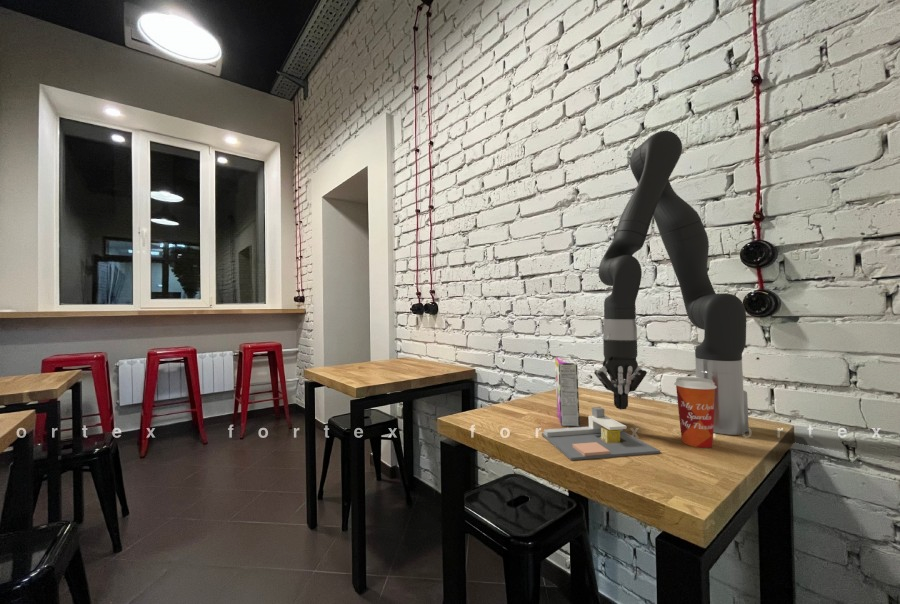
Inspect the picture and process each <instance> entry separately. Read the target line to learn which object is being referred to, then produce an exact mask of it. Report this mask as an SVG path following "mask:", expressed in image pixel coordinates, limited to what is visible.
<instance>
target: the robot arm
mask: <svg viewBox="0 0 900 604" xmlns="http://www.w3.org/2000/svg"><path fill="white" fill-rule="evenodd" d="M682 152H683V143H682V140H681V138H680V137H679V135H677V134H676V133H675V132H673V131H671V130H660V131H658V132H655V133H654V134H651V135H650V136H648V138H647V139H645V140H644V141H643V142H642V143H641V144H640V145H639V146H637V148H636V149H635V150H634V151H632V153H631V155H630V160H629V166H630V171H631V172H632V175H633V178H634V179H635V181H636V183H637V186H636V187H635V190H634V191H633V193H632V195H631V196H630V198H629V200H628V202H627V203H626V206H625V207H624V209H623V210H622V213H621V216H620V218H619V221H618V224H617V227H616V230H615V233H614V237H613V240H612V241H611V243H610V244H609V245H608V248H607V249H606V251H605V253H604V255H603V257H602V259H601V261H600V263H599V267H598V277H599V280H600V282H601V283H602V284H604V285H605V286H610V287H612V290H611V293H610V295H608V296H606V297H605V298H604V301H603V309H604V310H603V311H604V312H603V317H604V320H603V326H602V327H603V328H602V334H603V337H602V338H603V340H602V341H603V344H602V345H603V347H602V348H603V357H604V360H603V363H602V367H600V368H599V369H595V370H594V375H595V376H596V377H597V379H598V380H599V382H600V383H601V384H602V385H603V387H604V388H605V390H607V391H610V392H612V393H613V405H614V407H615V408H616V409H619V410H620V411H621V410H622V411H623V410H627V408H628V406H629V393H631V392H635V391H636V390H637V389H638V387H639V386H640V384H641V382H642V381H643V380H644V378H646V376H647V374H648V372H647V371H646V370H644V369H642V368H641V367H640V366H639V363H638V361H637V357H638V327H637V320H636V317H637V316H636V301H637V297H638V295H639V294H638V293H639V291H640V290H639V289H640V286H641V283H642V282H641V281H642V277H643V276H642V275H643V272H642V266H641V263H640V262H639V260H638V259H637V258H636V257H635V256H633V255H634V254H636V253H637V252H638V251H639V250H641V249H642V248H643V246H644V245H645V241H646V239H647V235H648V232H649V229H650V226H651V223H652V220H653V219H654V222H655V224H656V227H657V230H658V232H659V235H660V239H661V241H662V243H663V246H664V249H665V250H666V252H667V255H668V258H669V260H670V261H669V262H670V263H671V266H672V269H673V271H674V274H675V276H676V278H677V282H678V284H679V287H680V288H679V289H680V292H681V296H682V301H683V305H684V308H685V312H686V315H687V318H688V320H689V321H690V322H691V324H692V325H693V326H695V327H696V328H697V329H701V330H703V331H704V332H703V333H704V337H703V341H701V343H700V344H699V345H696V347H695V350H694V355H695V357H694V359H695V360H694V361H695V377H698V378H705V379H710V380H712V381H713V382H714V383H715V384H714V385H715V386H717V388H715V394H714V429H713V433H715V434H721V435H730V436H733V435H734V436H738V435H744V434H745V433H746V432H749V431H750V430H749V428H750V427H749V403H748V402H749V401H748V392H747V391H746V390H744V375H743V374H744V373H743V352H744V350H745V348H746V345H747V313H746V312H747V311H746V308H745V305H744V303H743V301H742V300H741V299H740V298H739V297H738V296H736V295H734V294H733V293H727V292H725V293H723V292H722V293H720V292H719V293H717V292H716V291H715V289H714V287H713V285H712V282H711V279H710V277H709V276H710V275H709V272H708V260H709V248H710V245H709V244H710V242H709V241H710V240H709V236H708V233H707V231H706V229H705V228H706V227H705V226H704V223H703V221H702V219H701V217H700V215H699V213H698V212H697V210H695V209H694V208H693V207H692V206H691V205H690V204H689V203H688V202H687V201H685V200H684V199H683V198H682V197H680V196H679V195H678V194H677V192H675V189H674V188H673V186H672V185H671V183H670V180H669V179H670V177H671V175H672V173H673V172H674V169H675V168H676V166H677V164H678V162H679V160H680V158H681V157H682ZM608 376H609V377H608Z"/></svg>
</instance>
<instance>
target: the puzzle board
mask: <svg viewBox="0 0 900 604" xmlns="http://www.w3.org/2000/svg"><path fill="white" fill-rule="evenodd" d="M618 430H620V442H617V443H606V442H605V441H604V440H603V439H602V438H601V429H592V428H591V427H589V426H580V427H563V428H550V429H543V432H541V436H542V437H543V438H544V439H545V440H547V441H548V442H549V443H550V444H551V445H552V446H554V447H555V448H556V449H557V450H559V452H561V453H562V454H563V455H564V456H566V457H567V458H568V460H570V461H579V460H592V459H602V458H603V459H604V458H605V459H606V458H617V457H629V456H639V455H640V456H641V455H651V454H652V455H654V454H660V453H661V450H659V449H657V448H656V447H654V446H652V445H650V444H648V443H646V442H644V441H643V440H641V439H639V438H637V437H636V436H634V435H631V434H630V433H628V432H626V431H624V430H623V429H618Z"/></svg>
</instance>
